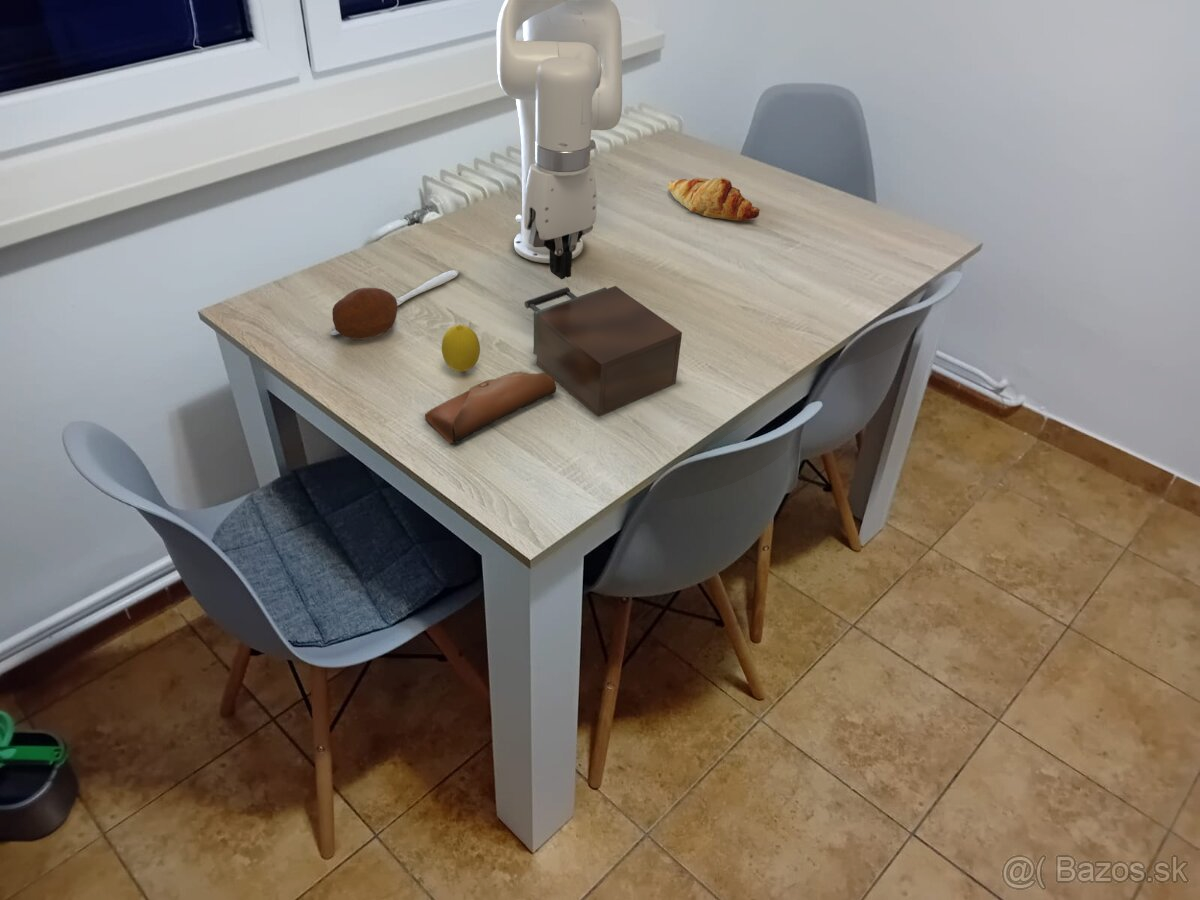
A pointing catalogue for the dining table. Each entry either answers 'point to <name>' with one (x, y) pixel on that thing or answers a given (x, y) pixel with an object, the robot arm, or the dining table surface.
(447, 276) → the butter knife
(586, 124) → the robot arm
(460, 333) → the lemon
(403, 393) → the dining table surface
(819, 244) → the dining table surface
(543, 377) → the sunglasses case
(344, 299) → the potato
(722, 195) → the croissant
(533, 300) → the drawer
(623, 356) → the cabinet
